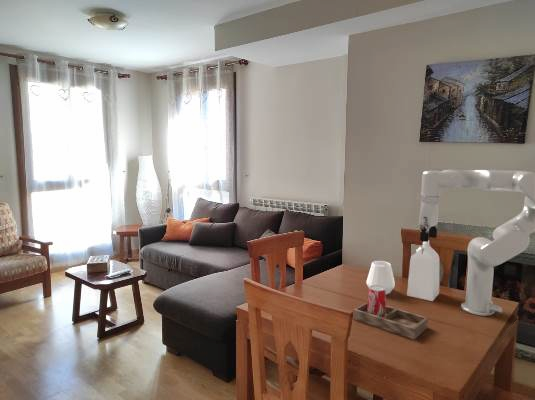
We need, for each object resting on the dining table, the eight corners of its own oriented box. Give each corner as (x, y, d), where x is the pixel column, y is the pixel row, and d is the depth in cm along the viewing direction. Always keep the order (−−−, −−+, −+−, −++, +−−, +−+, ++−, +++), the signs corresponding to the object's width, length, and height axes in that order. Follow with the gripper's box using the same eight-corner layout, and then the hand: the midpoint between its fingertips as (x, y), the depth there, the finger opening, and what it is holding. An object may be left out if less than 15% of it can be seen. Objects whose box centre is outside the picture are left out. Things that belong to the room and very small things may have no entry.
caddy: (427, 327, 147) (428, 317, 147) (414, 339, 138) (414, 329, 137) (368, 309, 164) (369, 300, 164) (353, 318, 155) (353, 309, 154)
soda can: (385, 320, 151) (387, 291, 149) (367, 318, 152) (368, 290, 151) (384, 313, 157) (385, 285, 156) (366, 311, 159) (368, 284, 157)
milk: (432, 301, 173) (435, 245, 170) (406, 295, 180) (409, 241, 177) (439, 293, 183) (442, 240, 179) (414, 288, 189) (417, 237, 186)
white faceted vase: (390, 298, 176) (392, 269, 175) (362, 292, 183) (363, 264, 182) (397, 289, 188) (398, 262, 186) (370, 284, 195) (371, 258, 193)
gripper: (429, 197, 170) (427, 234, 172) (413, 201, 157) (411, 241, 159) (446, 198, 165) (444, 237, 167) (432, 202, 152) (429, 244, 154)
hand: (428, 239), depth 163 cm, fingers open, 9 cm apart
